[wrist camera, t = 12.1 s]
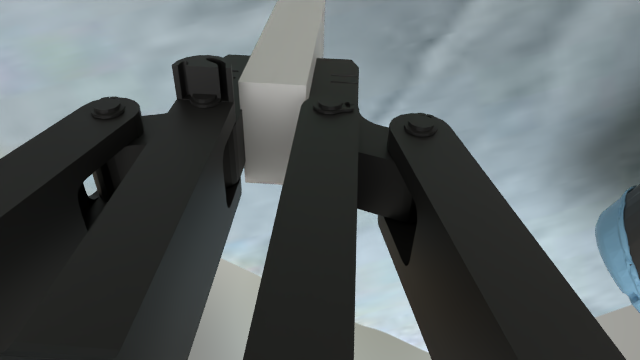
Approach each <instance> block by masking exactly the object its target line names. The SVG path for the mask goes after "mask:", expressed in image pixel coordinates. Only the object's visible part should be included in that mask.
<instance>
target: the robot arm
mask: <svg viewBox="0 0 640 360" xmlns="http://www.w3.org/2000/svg"><path fill="white" fill-rule="evenodd" d="M324 21H325V0H278V1H277V3H276V5H275V7H274V9H273V11H272V13H271V15H270V17H269V19H268V21H267V23H266V26H265V28H264V30H263V32H262V34H261V36H260V38H259V40H258V42H257V44H256V46H255V48H254V50H253V52H252V54H251V56H246V55H227V56H225V57H224V58H222V57H218V56H211V55H198V56H192V57H186V58H184V59H181V60H178V61H176V62H175V63H174V64H172V69H173V76H174V82H175V89H176V95H177V100H176V101H175V103H174V104H173V106H172V107H171V109H170V110H169V112H168V113H165V114H157V115H147V116H141V111H140V106H139V104H138V103H137V102H135V101H134V100H131V99H128V98H118V97H110V98H109V97H104V98H101V99H100V100H96V101H92V102H90V103H88V104H86V105H84V106H82V107H80V108H79V109H77V110H76V111H74V112H73V113H71V114H70V115H68V116H66V117H65V118H63V119H62V120H60V121H59V122H57V123H56V124H54V125H52V126H51V127H49V128H48V129H46V130H45V131H43V132H42V133H40V134H38V135H37V136H35V137H34V138H32V139H31V140H29V141H28V142H26V143H24V144H23V145H21V146H20V147H18V148H17V149H15V150H14V151H12V152H10V153H9V154H7V155H6V156H4V157H3V158H1V159H0V360H188V356H189V353H190V350H191V347H192V344H193V341H194V338H195V335H196V332H197V329H198V326H199V323H200V319H201V317H202V313H203V310H204V308H205V304H206V301H207V298H208V295H209V292H210V289H211V286H212V283H213V280H214V277H215V274H216V271H217V267H218V264H219V261H220V258H221V255H222V252H223V249H224V246H225V243H226V240H227V237H228V234H229V231H230V228H231V225H232V222H233V218H234V215H235V212H236V209H237V206H238V203H239V200H240V197H241V177H240V176H241V173H242V171H243V168H244V169H245V182H248V183H263V184H279V185H283V187H282V191H281V196H280V200H279V204H278V209H277V213H276V217H275V222H274V226H273V231H272V235H271V239H270V244H269V248H268V252H267V257H266V261H265V266H264V270H263V274H262V279H261V283H260V288H259V292H258V296H257V301H256V305H255V310H254V314H253V318H252V322H251V327H250V331H249V336H248V340H247V344H246V349H245V353H244V357H243V360H354V321H355V276H356V231H357V209H361V210H364V211H367V212H371V213H374V214H377V215H378V225H379V228H380V230H381V233H382V235H383V238H384V240H385V243H386V245H387V248H388V250H389V253H390V255H391V258H392V260H393V263H394V265H395V268H396V271H397V273H398V276H399V278H400V281H401V283H402V286H403V288H404V291H405V293H406V296H407V298H408V301H409V303H410V306H411V308H412V311H413V313H414V316H415V318H416V321H417V324H418V326H419V329H420V331H421V334H422V336H423V339H424V341H425V344H426V346H427V349H428V351H429V354H430V356H431V359H432V360H626V359H625V358H624V356H623V355H622V353H621V352H620V351H619V350H618V348H617V347H616V346H615V344H614V343H613V342H612V340H611V339H610V338H609V336H608V335H607V334H606V332H605V331H604V330H603V329H602V327H601V326H600V324H599V323H598V322H597V320H596V319H595V318H594V316H593V315H592V314H591V312H590V311H589V310H588V308H587V307H586V306H585V305H584V303H583V302H582V301H581V299H580V298H579V297H578V295H577V294H576V293H575V291H574V290H573V289H572V287H571V286H570V285H569V283H568V282H567V281H566V279H565V278H564V277H563V275H562V274H561V273H560V271H559V270H558V269H557V267H556V266H555V265H554V263H553V262H552V261H551V259H550V258H549V257H548V256H547V254H546V253H545V252H544V250H543V249H542V248H541V246H540V245H539V244H538V242H537V241H536V240H535V238H534V237H533V236H532V234H531V233H530V232H529V230H528V229H527V228H526V226H525V225H524V224H523V222H522V221H521V220H520V218H519V217H518V216H517V214H516V213H515V212H514V211H513V209H512V208H511V207H510V205H509V204H508V203H507V201H506V200H505V199H504V197H503V196H502V195H501V193H500V192H499V191H498V189H497V188H496V187H495V185H494V184H493V183H492V181H491V180H490V179H489V177H488V176H487V175H486V173H485V172H484V171H483V169H482V168H481V167H480V165H479V164H478V163H477V162H476V160H475V159H474V158H473V156H472V155H471V154H470V152H469V151H468V150H467V148H466V147H465V146H464V144H463V143H462V142H461V140H460V139H459V138H458V136H457V135H456V134H455V132H454V131H453V130H452V128H451V127H450V126H449V125H448V124H447V123H445V122H444V121H443V120H441V119H439V118H436V117H434V116H432V115H429V114H427V115H426V114H424V113H418V114H414V113H410V114H404V115H400V116H398V117H396V118H394V119H393V120H392V121H391V123H390V125H389V128H388V127H384V126H380V125H377V124H374V123H372V122H370V121H368V120H366V119H365V118H363V117H362V116H361V115H360V113H359V108H358V80H359V78H358V77H359V67H358V66H357V65H356V64H355V63H354V62H353V61H352V60H343V59H325V58H323V50H324ZM91 174H93V177H94V181H95V184H96V187H97V191H96V192H95V193H93V194H92V195H91V196H89V197H88V195H87V194H86V191H85V188H84V184H83V182H84V181H85V180H86V178H88V177H89V176H90V175H91ZM595 236H596V242H597V246H598V249H599V252H600V254H601V257H602V259H603V261H604V263H605V265H606V267H607V269H608V271H609V273H610V274H611V276H612V278H613V279H614V281H615V283H616V284H617V286H618V287H619V288H620V290H621V291H622V292H623V293H625V294H627V295H628V297H629V299H630V301H631V303H632V305H633V306H634V307H635V308H636V309H637V311H638V312H639V313H640V184H639V185H638V186H633V187H631V188H629V189H628V190H626V191H625V193H624V194H623V195H622V197H621V198H620V199H619V200H617V201H616V202H615V203H614V204H612V205H611V206H610V207H608V208H607V209H606V210H605V211H603V212H602V214H601V215H600V217H599V219H598V221H597V224H596V228H595Z"/></svg>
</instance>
